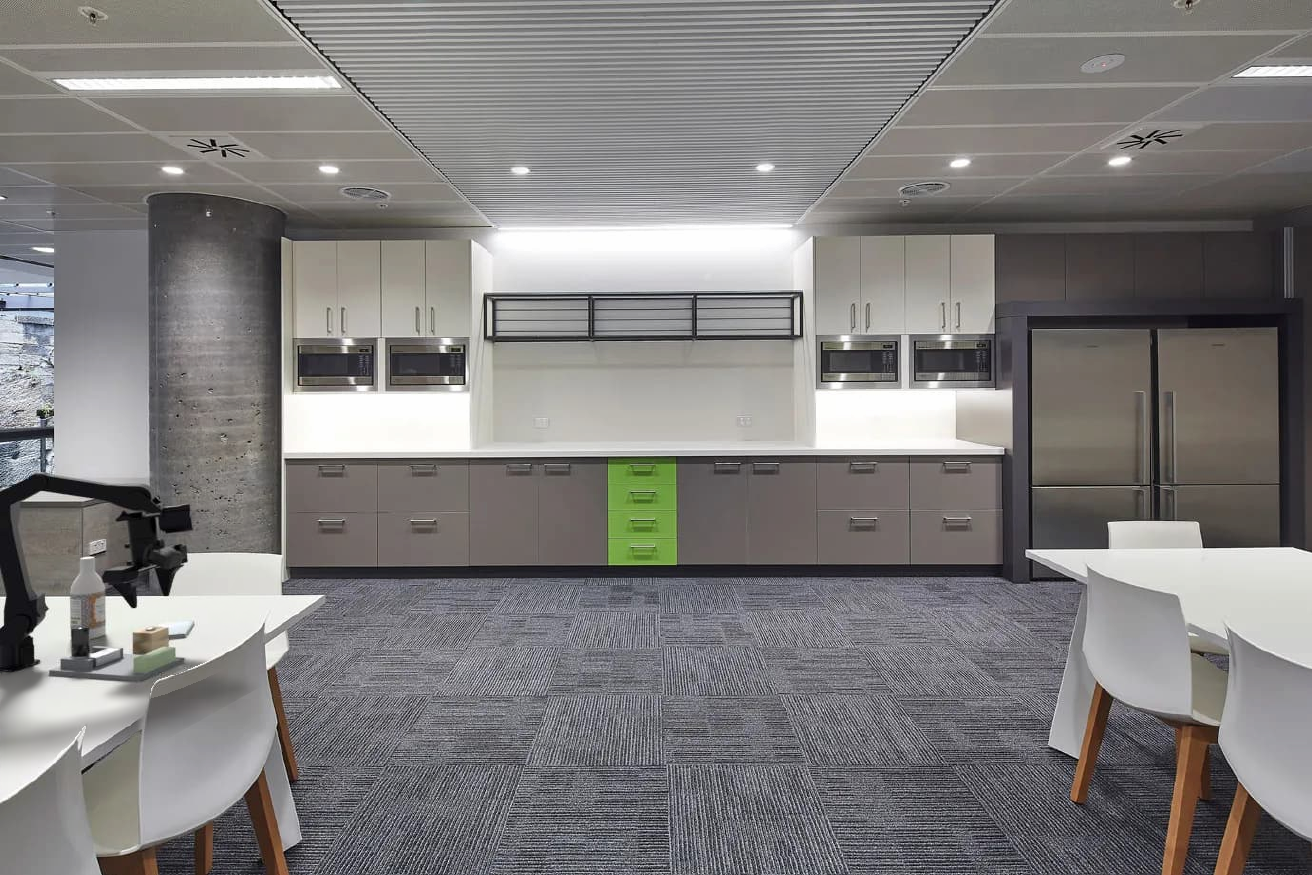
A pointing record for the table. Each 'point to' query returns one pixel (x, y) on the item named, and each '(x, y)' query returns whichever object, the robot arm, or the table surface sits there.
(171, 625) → the hard drive
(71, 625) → the bath foam
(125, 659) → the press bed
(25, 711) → the table surface
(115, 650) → the ram
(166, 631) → the housing
